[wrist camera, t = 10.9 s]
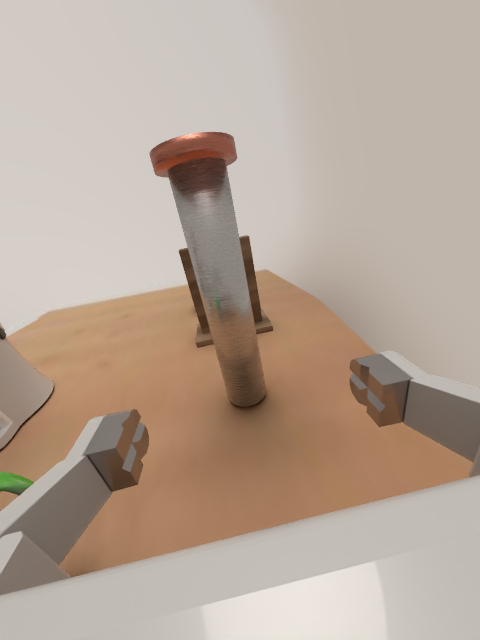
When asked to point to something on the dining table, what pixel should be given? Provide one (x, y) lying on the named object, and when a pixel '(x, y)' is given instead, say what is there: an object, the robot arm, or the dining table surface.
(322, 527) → the robot arm
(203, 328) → the eye board
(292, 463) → the dining table surface
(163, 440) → the dining table surface
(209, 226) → the copper-headed rod
